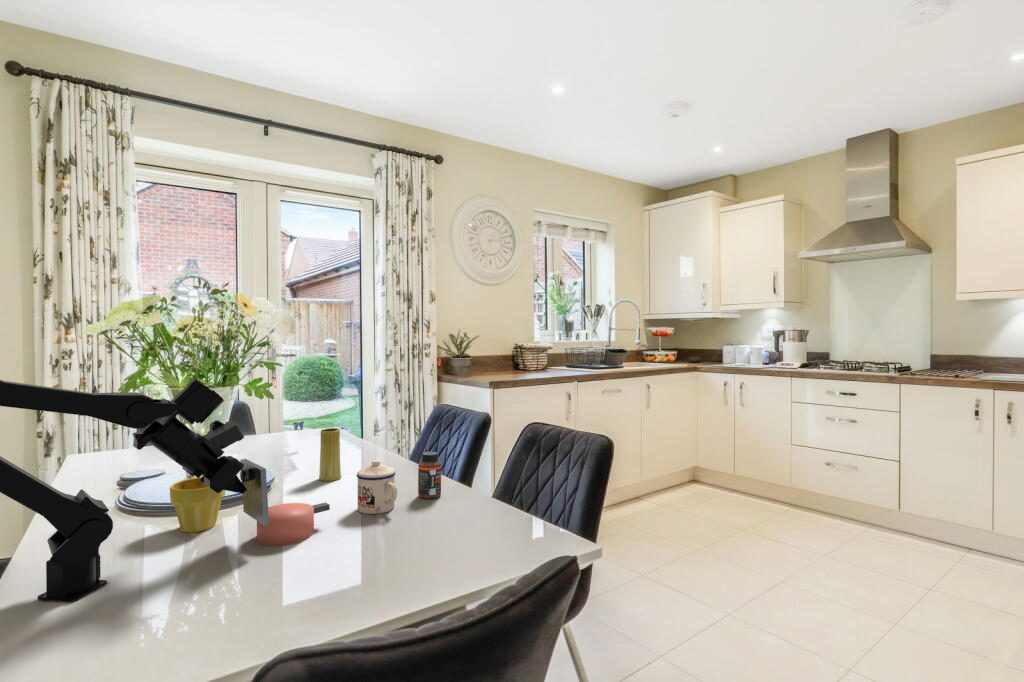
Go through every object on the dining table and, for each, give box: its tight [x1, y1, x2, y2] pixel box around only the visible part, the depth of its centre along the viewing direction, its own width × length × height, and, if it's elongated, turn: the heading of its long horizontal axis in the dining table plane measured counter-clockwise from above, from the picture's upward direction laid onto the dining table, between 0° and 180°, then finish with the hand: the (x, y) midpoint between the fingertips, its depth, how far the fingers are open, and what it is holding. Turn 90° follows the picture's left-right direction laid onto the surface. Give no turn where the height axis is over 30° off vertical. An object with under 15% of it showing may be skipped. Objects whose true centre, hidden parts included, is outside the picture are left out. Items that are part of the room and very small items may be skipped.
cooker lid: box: [239, 458, 269, 525], centre depth 106 cm, size 11×11×3 cm
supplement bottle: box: [417, 451, 442, 500], centre depth 138 cm, size 6×6×11 cm
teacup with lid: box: [356, 459, 398, 515], centre depth 127 cm, size 12×9×12 cm
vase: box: [318, 427, 342, 482], centre depth 153 cm, size 6×6×14 cm
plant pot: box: [169, 476, 226, 533], centre depth 115 cm, size 10×10×10 cm
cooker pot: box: [256, 502, 331, 547], centre depth 112 cm, size 15×11×5 cm
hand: (244, 491), depth 105 cm, fingers closed, pressing on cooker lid
